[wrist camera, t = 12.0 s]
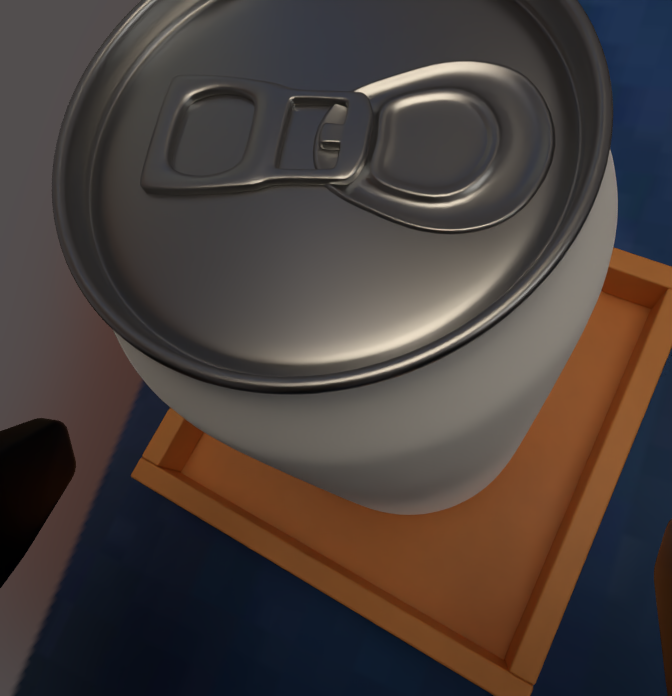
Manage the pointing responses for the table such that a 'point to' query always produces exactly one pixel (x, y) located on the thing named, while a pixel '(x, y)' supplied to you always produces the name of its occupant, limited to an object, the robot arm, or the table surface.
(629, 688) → the table surface
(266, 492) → the tray
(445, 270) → the can
